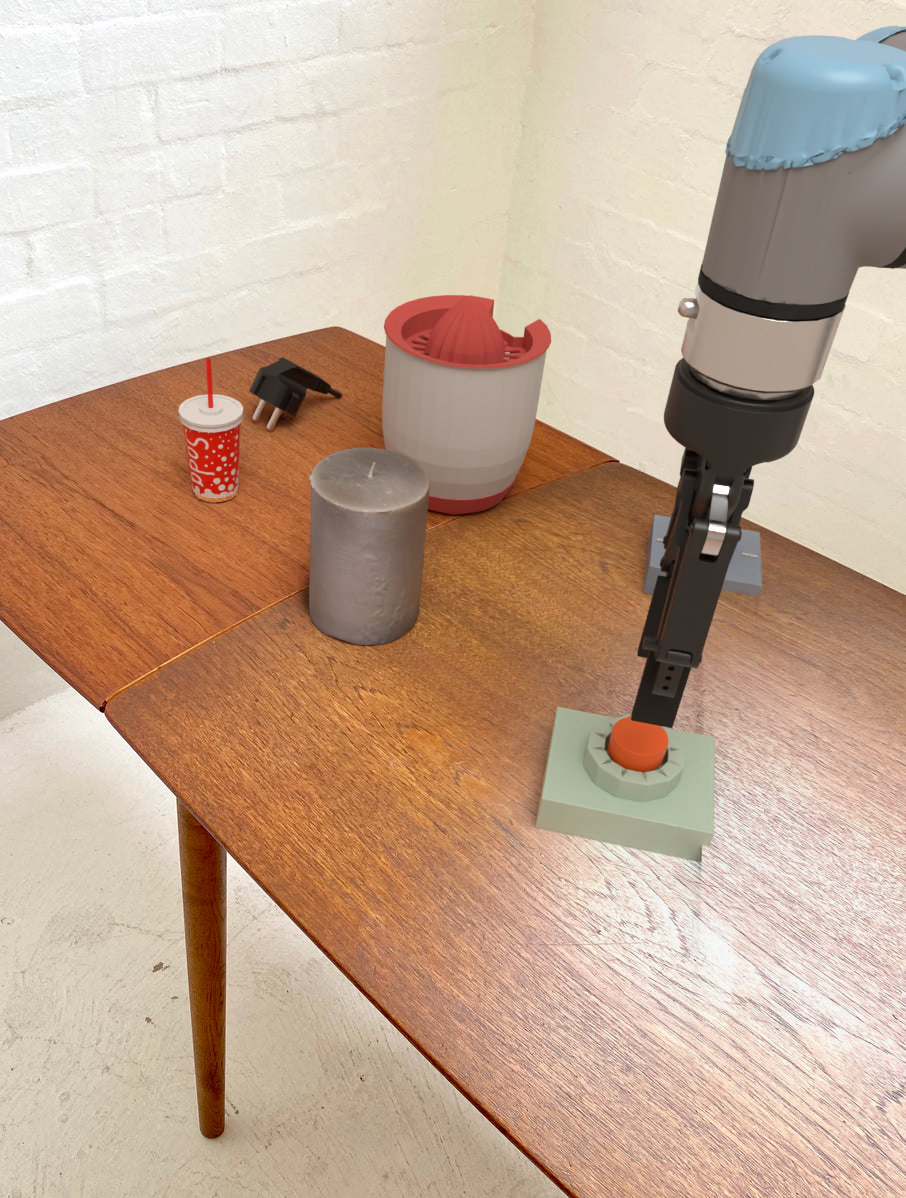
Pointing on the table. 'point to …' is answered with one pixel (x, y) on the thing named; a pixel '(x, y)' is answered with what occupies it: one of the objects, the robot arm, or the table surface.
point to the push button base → (628, 789)
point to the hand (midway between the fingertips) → (654, 687)
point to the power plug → (285, 388)
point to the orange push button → (637, 745)
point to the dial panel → (740, 571)
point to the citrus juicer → (461, 397)
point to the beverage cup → (212, 441)
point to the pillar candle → (367, 544)
